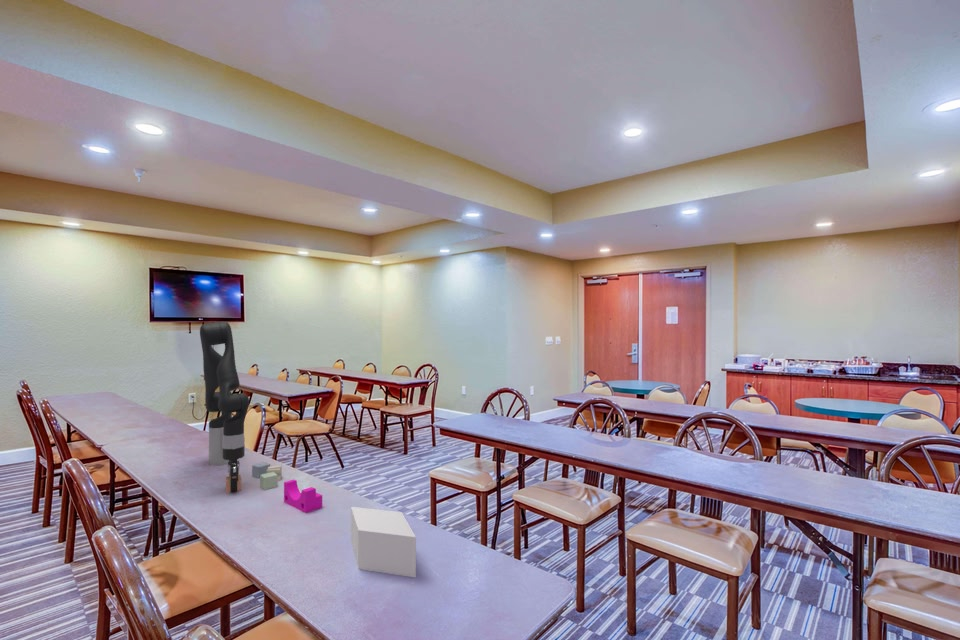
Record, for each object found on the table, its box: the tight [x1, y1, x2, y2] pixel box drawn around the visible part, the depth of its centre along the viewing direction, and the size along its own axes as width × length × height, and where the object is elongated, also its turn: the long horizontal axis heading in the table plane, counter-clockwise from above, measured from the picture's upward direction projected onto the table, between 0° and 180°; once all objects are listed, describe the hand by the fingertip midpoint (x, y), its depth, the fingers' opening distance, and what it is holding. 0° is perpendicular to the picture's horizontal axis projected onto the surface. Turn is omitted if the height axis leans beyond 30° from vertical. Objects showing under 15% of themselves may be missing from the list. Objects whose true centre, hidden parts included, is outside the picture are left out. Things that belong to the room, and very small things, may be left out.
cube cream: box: [267, 465, 283, 482], centre depth 182 cm, size 5×5×5 cm
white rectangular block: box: [350, 506, 417, 578], centre depth 121 cm, size 14×29×10 cm, turn 50°
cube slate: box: [251, 461, 271, 479], centre depth 186 cm, size 5×5×5 cm
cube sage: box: [259, 472, 279, 491], centre depth 173 cm, size 5×5×5 cm
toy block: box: [283, 478, 323, 514], centre depth 156 cm, size 15×6×8 cm, turn 51°
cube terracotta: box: [225, 474, 242, 494], centre depth 170 cm, size 5×5×5 cm
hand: (233, 489), depth 170 cm, fingers closed on cube terracotta, 5 cm apart
